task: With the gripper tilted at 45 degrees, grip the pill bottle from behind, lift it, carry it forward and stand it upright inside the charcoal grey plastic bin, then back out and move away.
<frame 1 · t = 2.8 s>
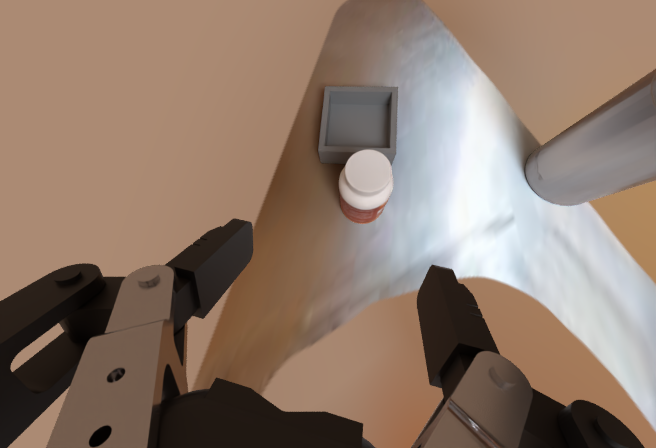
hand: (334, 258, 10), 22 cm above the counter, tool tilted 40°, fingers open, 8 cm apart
pill bottle: (361, 204, 34), on the counter
charcoal bin: (357, 133, 37), on the counter
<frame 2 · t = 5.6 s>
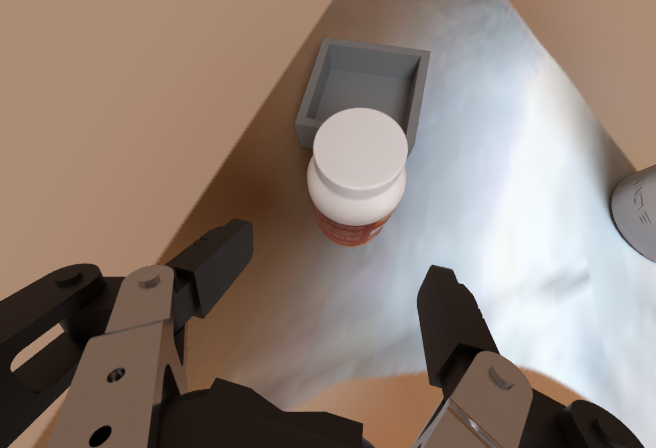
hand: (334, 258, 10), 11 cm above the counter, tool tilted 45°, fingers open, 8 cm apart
pill bottle: (350, 216, 22), on the counter
charcoal bin: (361, 113, 25), on the counter
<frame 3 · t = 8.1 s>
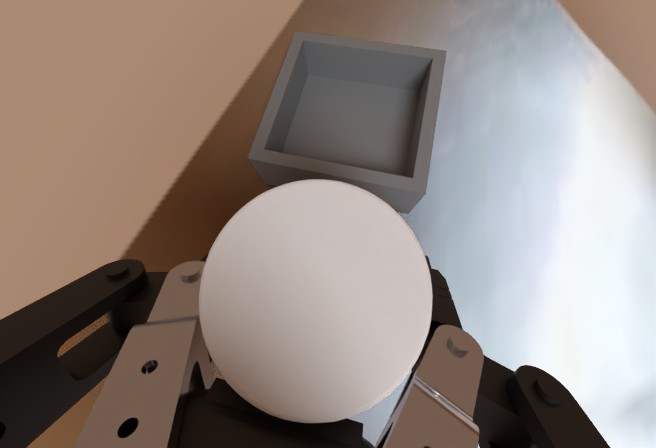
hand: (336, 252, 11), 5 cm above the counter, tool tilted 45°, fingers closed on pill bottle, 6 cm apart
pill bottle: (331, 289, 15), on the counter, touching gripper
charcoal bin: (349, 136, 18), on the counter
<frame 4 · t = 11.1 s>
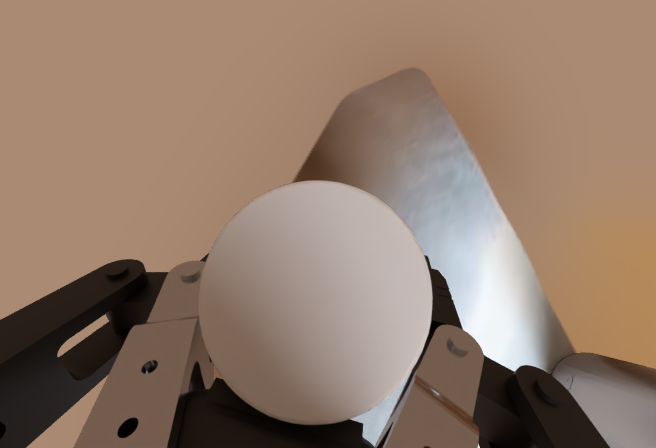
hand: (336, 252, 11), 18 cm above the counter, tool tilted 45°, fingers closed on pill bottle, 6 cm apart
pill bottle: (331, 289, 15), point 12 cm above the counter, touching gripper
when the fingers open (7 cm above the counter, at t = 14.2 s): pill bottle drops 1 cm, resting on charcoal bin.
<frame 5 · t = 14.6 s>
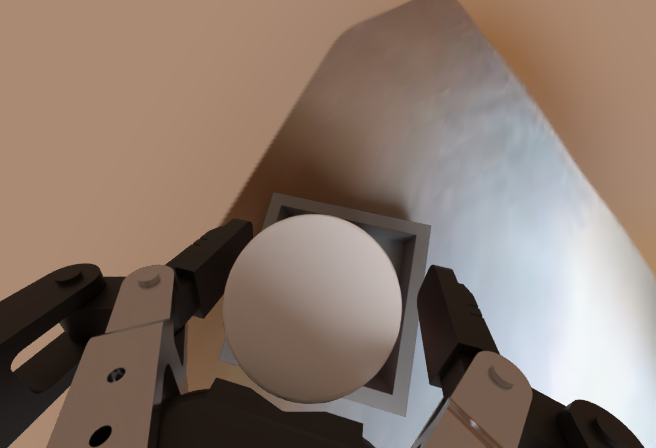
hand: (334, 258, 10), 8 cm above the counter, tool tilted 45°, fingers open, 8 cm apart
pill bottle: (329, 292, 17), point 1 cm above the counter, touching charcoal bin
charcoal bin: (332, 289, 17), on the counter
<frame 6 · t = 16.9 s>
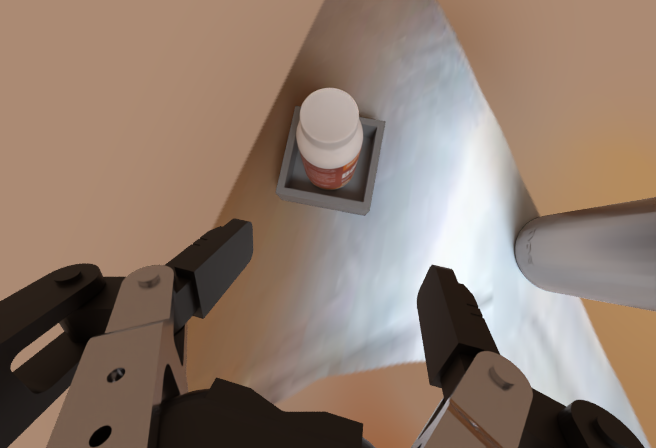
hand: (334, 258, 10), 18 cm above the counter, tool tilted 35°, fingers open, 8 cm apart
pill bottle: (330, 167, 29), point 1 cm above the counter, touching charcoal bin
charcoal bin: (331, 167, 30), on the counter
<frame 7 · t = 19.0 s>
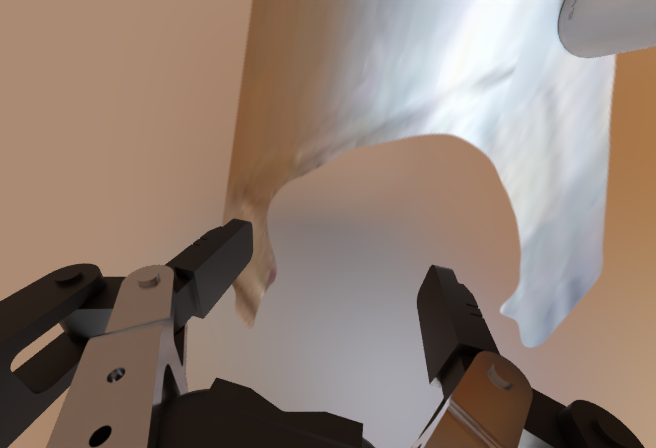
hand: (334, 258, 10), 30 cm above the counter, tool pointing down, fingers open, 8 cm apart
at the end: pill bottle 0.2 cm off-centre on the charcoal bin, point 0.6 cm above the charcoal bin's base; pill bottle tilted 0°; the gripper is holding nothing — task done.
